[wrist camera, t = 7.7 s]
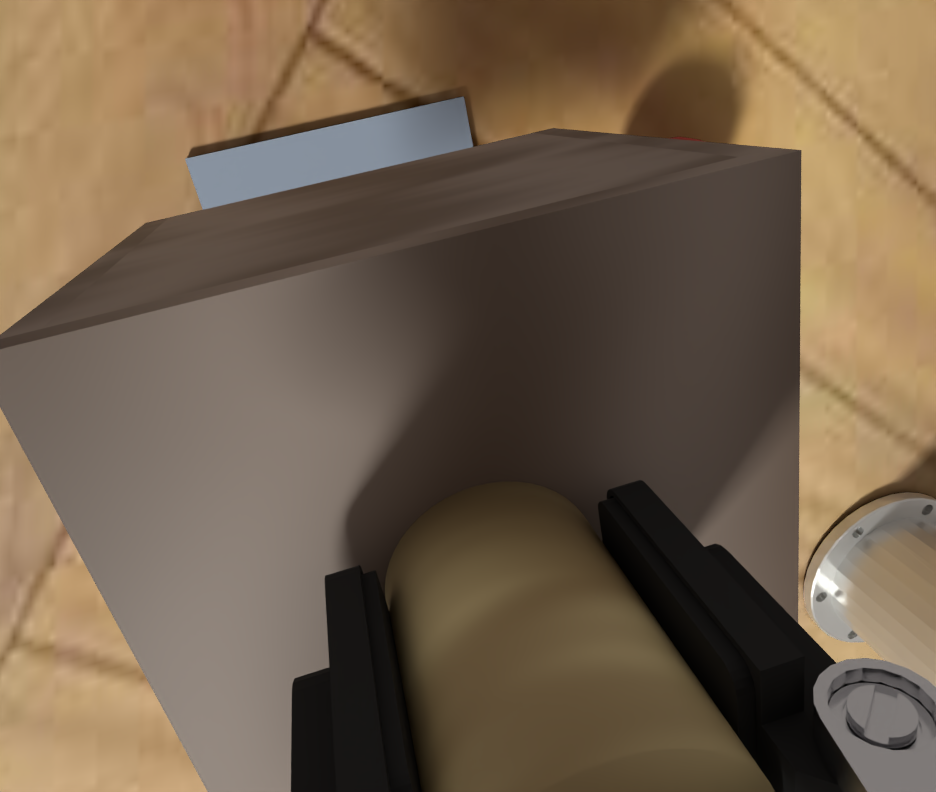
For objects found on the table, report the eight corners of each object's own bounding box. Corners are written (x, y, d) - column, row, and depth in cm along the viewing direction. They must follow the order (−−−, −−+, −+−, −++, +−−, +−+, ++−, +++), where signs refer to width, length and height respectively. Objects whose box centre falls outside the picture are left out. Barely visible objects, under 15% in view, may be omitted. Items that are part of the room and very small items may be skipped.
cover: (553, 128, 19) (1226, 187, 5) (599, 467, 24) (1021, 977, 10) (145, 223, 18) (-400, 641, 4) (278, 563, 23) (246, 1310, 9)
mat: (461, 96, 33) (463, 96, 33) (508, 347, 38) (510, 350, 38) (186, 158, 31) (185, 158, 31) (275, 410, 37) (275, 414, 36)
